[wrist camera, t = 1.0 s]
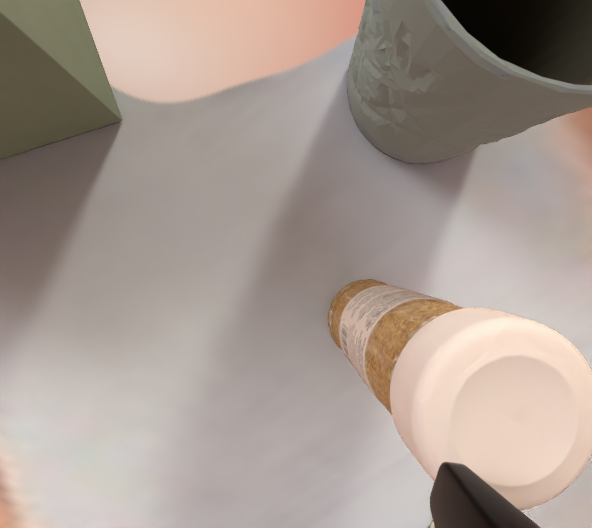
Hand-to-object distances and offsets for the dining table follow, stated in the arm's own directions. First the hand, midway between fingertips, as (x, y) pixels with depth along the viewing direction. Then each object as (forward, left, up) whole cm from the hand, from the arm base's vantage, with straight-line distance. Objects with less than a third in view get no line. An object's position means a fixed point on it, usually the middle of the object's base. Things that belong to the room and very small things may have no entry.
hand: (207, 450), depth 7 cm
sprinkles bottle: (+2, -6, -15) cm, 16 cm away
